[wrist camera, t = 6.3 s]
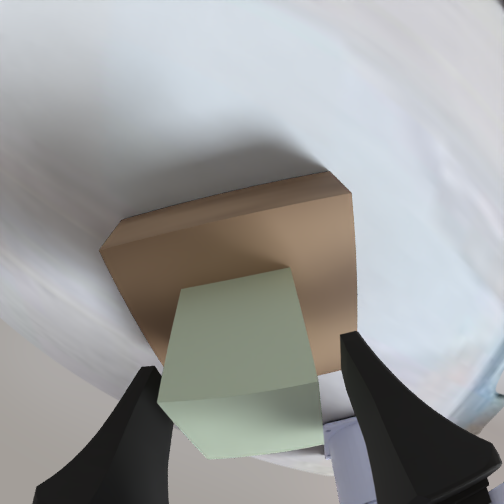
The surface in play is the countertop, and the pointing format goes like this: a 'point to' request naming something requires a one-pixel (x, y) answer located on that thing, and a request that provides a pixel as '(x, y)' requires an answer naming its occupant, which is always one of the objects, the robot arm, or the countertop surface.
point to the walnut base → (244, 255)
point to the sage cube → (242, 369)
